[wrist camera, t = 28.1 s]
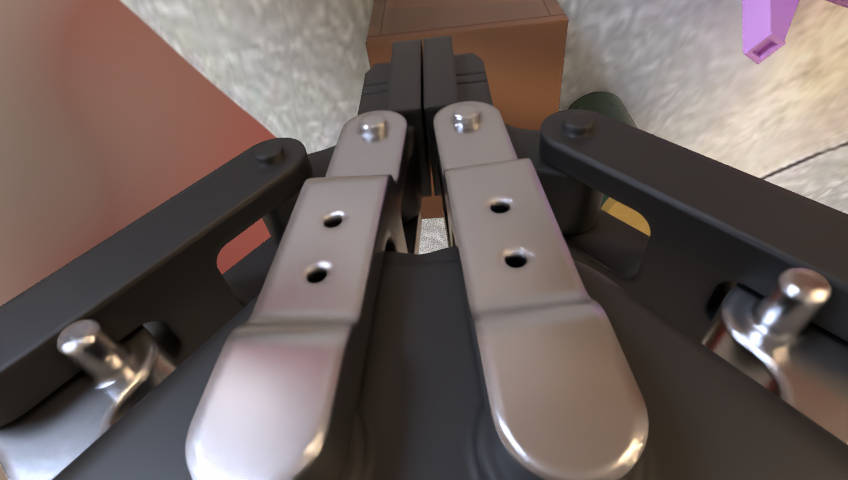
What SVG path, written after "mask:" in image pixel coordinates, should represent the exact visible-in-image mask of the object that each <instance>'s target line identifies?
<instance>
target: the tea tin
mask: <svg viewBox="0 0 848 480" xmlns="http://www.w3.org/2000/svg"><path fill="white" fill-rule="evenodd" d="M571 109H582V110H590V111H594V112H598V113H600V114H603V115H605V116H608V117H610V118H613V119H615V120H618V121H620V122H623V123H625V124H627V125H630V126H632V127H635V128H637V126H636V124H635V123H634V121H633V120H632V118H631V116H630V115H629V113H628V111H627V110H626V108H625V106H624V105H623V103H622V102H621V100H620V99H619V98H618V97H617V96H615V95H613V94H611V93H607V92H595V93H591V94H588V95H585V96H583V97H581V98H580V99H578V100H577V101H576V102H574V103H573V104H572V105H571V107H570V108H569V109H568V110H571ZM637 129H638V128H637ZM600 209H601V210H603V211H605V212H607V213H609V214H610V215H612V216H614V217H616V218H618V219H619V220H621V221H623V222H625V223H627V224H628V225H630V226H632V227H634V228H636V229H637V230H639V231H641V232H643V233H645V234H646V235H648V236H650V227H649V225H648V223H647V221H646V220H645V218H644V217H643V216H642V215H641V214H639V213H638V212H637V211H635V210H633V209H631V208H629V207H627V206H625V205H623V204H622V203H620V202H618V201H616V200H614V199H612V198H610V197H608V196H606V195H605V194H603V197H602V202H601V207H600Z"/></svg>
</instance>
